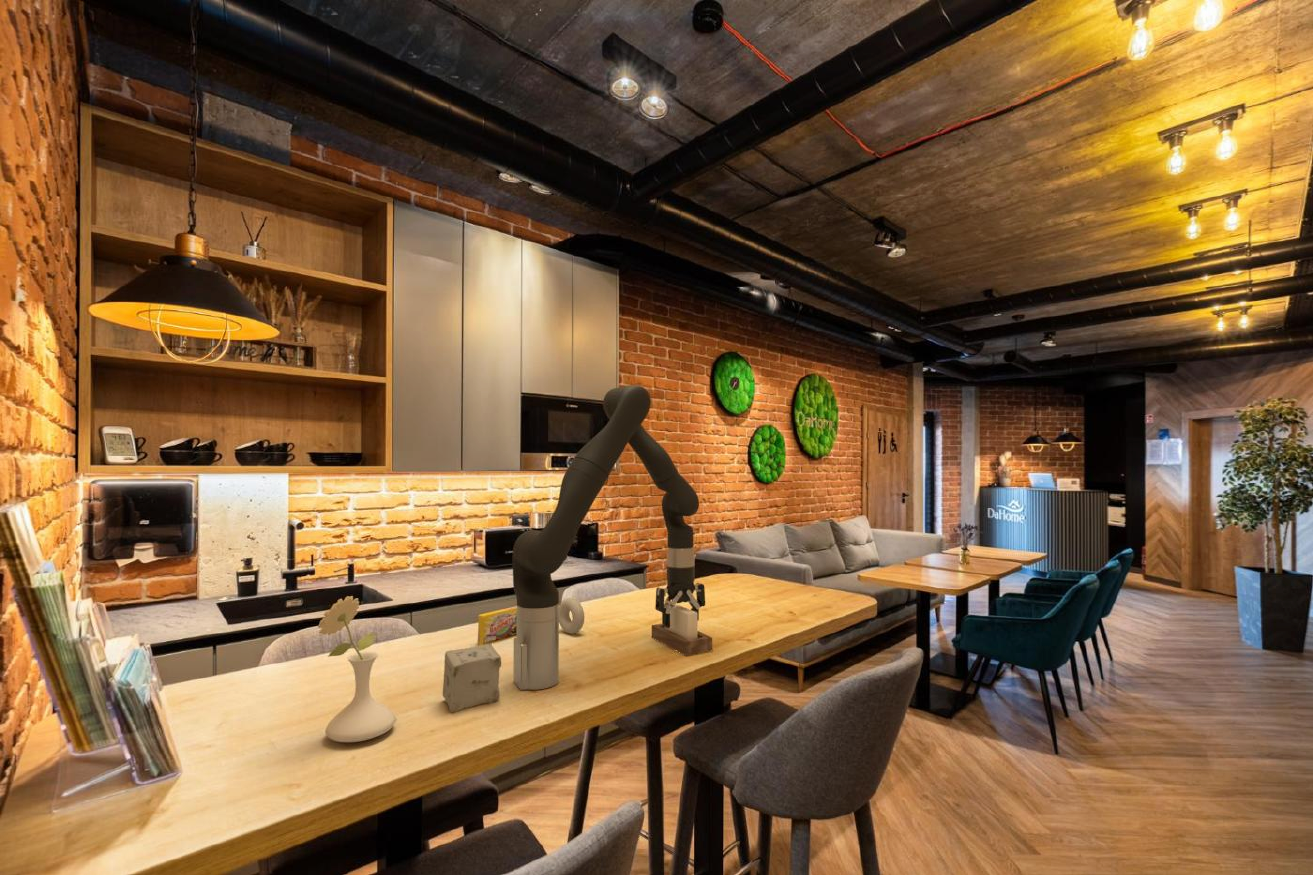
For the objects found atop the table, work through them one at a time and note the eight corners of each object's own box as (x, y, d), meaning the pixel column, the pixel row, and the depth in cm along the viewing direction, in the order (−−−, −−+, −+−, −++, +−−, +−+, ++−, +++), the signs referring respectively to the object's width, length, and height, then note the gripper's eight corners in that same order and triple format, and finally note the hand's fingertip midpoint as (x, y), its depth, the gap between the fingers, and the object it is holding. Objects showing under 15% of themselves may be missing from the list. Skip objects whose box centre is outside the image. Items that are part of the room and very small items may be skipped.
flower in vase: (378, 715, 114) (380, 584, 115) (408, 732, 107) (410, 592, 108) (303, 739, 104) (307, 596, 105) (331, 760, 97) (334, 605, 98)
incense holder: (452, 715, 114) (452, 661, 114) (441, 701, 121) (442, 649, 121) (502, 704, 119) (502, 652, 119) (489, 690, 126) (489, 641, 126)
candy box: (481, 647, 156) (482, 615, 156) (476, 646, 157) (477, 614, 158) (529, 633, 169) (529, 604, 169) (524, 632, 170) (524, 603, 170)
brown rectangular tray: (685, 656, 148) (685, 642, 148) (651, 637, 164) (651, 625, 164) (712, 651, 152) (712, 637, 152) (676, 633, 168) (676, 621, 168)
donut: (587, 635, 166) (587, 599, 167) (577, 638, 164) (577, 601, 164) (564, 629, 173) (564, 594, 173) (555, 631, 170) (555, 596, 171)
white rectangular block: (687, 649, 152) (687, 614, 152) (664, 637, 162) (664, 604, 163) (697, 647, 153) (697, 612, 154) (674, 635, 164) (673, 603, 164)
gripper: (664, 568, 152) (664, 632, 151) (710, 563, 159) (710, 624, 158) (650, 564, 159) (650, 625, 158) (695, 559, 166) (695, 618, 165)
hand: (680, 625), depth 158 cm, fingers open, 8 cm apart
